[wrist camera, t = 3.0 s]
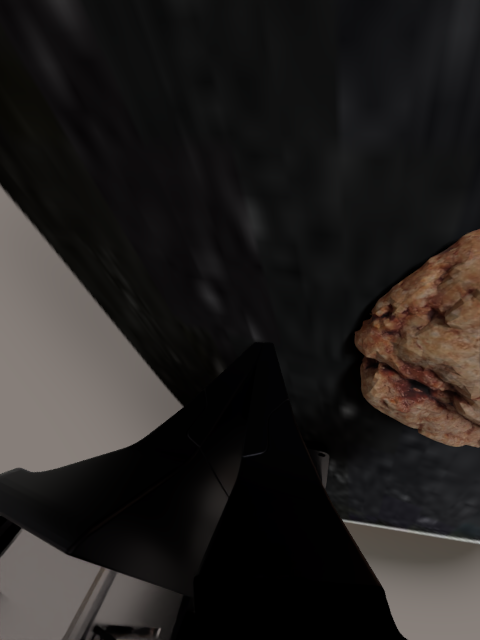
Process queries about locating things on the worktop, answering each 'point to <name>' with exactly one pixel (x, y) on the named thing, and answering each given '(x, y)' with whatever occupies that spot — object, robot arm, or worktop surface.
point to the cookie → (429, 347)
